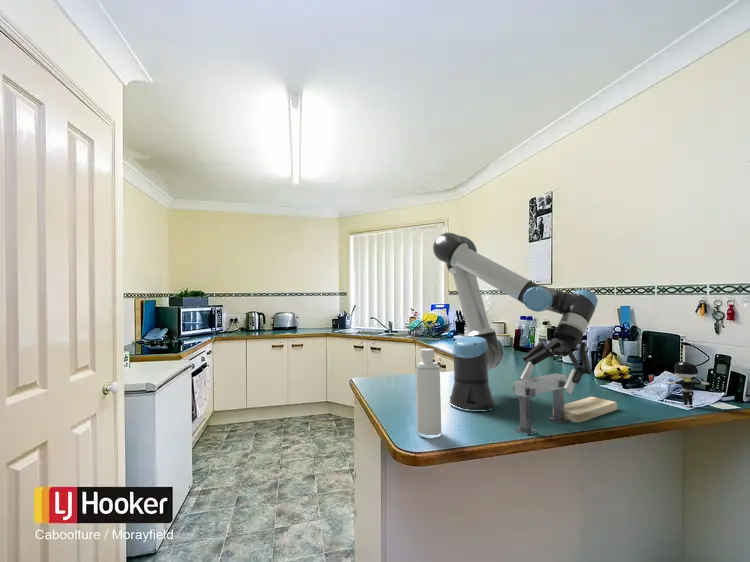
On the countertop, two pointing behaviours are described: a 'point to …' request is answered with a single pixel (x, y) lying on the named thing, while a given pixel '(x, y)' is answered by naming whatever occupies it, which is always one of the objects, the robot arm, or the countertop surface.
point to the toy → (686, 379)
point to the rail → (539, 384)
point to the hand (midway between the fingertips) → (543, 386)
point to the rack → (526, 413)
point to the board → (587, 408)
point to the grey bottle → (428, 394)
